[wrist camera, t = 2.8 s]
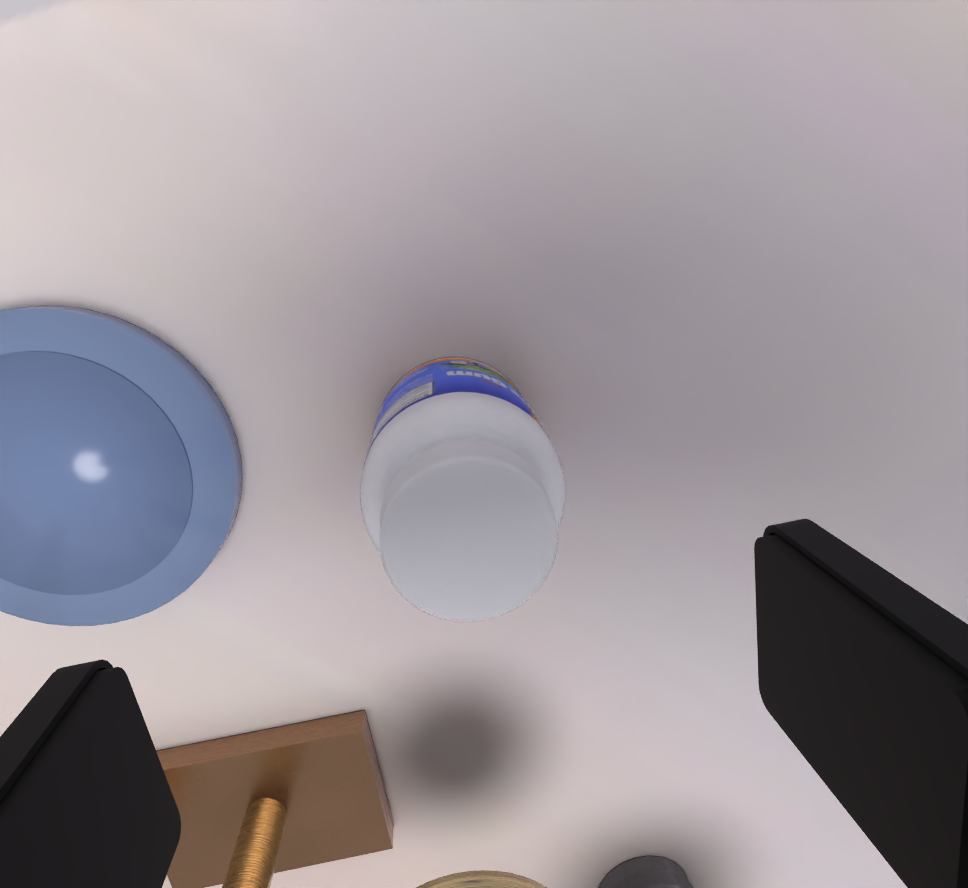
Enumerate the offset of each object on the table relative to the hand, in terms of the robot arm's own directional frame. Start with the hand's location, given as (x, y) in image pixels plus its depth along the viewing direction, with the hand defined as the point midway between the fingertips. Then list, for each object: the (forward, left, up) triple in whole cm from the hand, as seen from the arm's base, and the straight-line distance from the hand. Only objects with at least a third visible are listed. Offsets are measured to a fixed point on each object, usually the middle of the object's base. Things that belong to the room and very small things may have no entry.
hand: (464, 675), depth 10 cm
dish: (+12, -1, -15) cm, 19 cm away
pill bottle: (-1, 0, -15) cm, 15 cm away
